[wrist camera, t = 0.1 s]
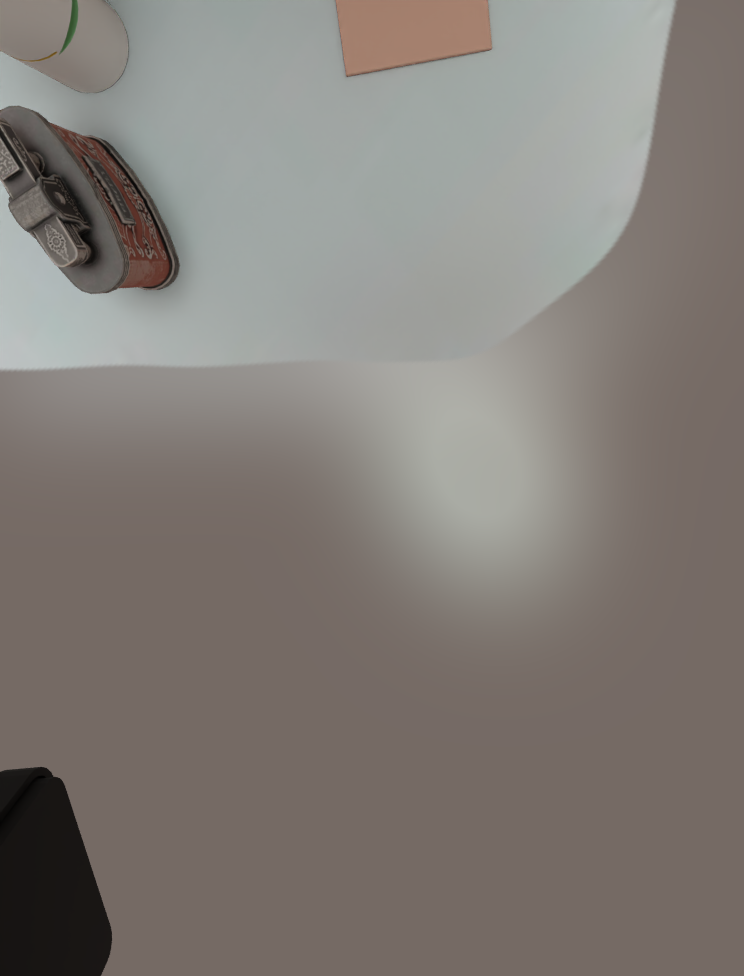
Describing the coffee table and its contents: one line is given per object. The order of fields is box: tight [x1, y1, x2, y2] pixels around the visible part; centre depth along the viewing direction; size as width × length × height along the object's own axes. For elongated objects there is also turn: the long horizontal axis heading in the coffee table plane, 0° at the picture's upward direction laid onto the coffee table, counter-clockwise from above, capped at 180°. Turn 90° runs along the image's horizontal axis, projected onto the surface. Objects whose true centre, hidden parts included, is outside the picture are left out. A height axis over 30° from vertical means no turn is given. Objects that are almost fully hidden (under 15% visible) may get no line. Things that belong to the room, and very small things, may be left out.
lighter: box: [0, 106, 180, 294], centre depth 32 cm, size 8×3×10 cm, turn 29°
